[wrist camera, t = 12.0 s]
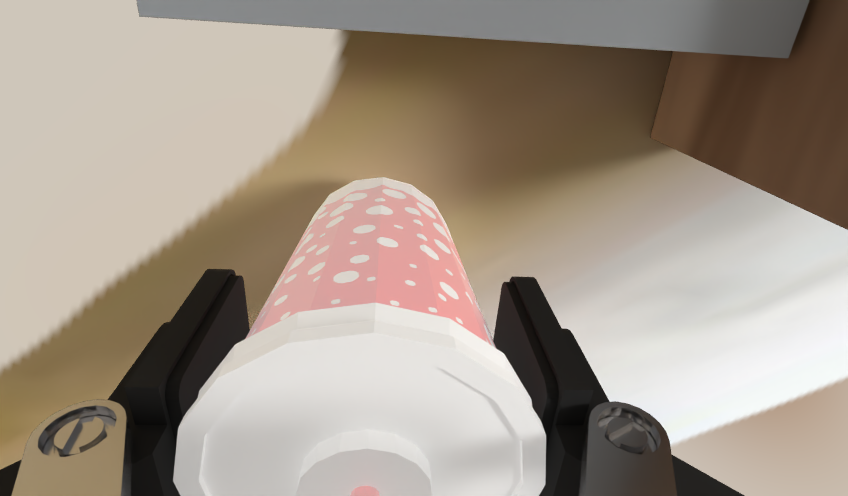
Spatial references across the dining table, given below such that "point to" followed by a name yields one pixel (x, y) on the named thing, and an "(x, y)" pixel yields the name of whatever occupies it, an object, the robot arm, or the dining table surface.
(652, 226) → the dining table surface
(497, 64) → the dining table surface
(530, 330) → the robot arm
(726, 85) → the walnut wall
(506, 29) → the socket block
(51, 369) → the dining table surface
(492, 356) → the beverage cup
